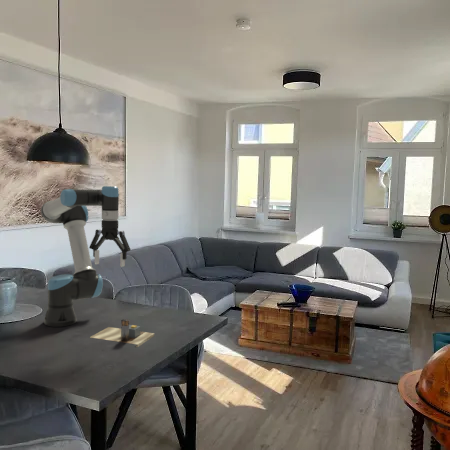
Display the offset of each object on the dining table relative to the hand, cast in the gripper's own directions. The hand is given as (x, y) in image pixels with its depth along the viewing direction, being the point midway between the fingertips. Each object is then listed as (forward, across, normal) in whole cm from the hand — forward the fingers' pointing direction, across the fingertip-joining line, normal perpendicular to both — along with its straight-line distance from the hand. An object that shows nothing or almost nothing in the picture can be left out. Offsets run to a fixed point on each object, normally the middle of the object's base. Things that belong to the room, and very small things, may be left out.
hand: (109, 265), depth 215 cm
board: (+32, +10, -5) cm, 34 cm away
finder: (+30, +14, -4) cm, 34 cm away
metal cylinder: (+30, +15, -10) cm, 35 cm away
